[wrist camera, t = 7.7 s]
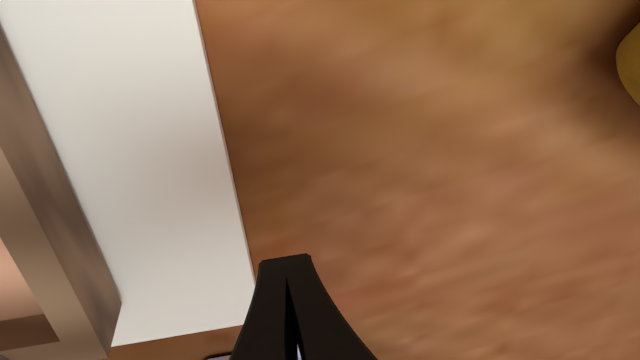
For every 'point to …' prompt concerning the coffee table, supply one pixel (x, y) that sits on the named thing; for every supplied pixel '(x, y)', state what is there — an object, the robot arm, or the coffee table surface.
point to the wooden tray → (45, 244)
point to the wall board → (140, 154)
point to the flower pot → (630, 63)
